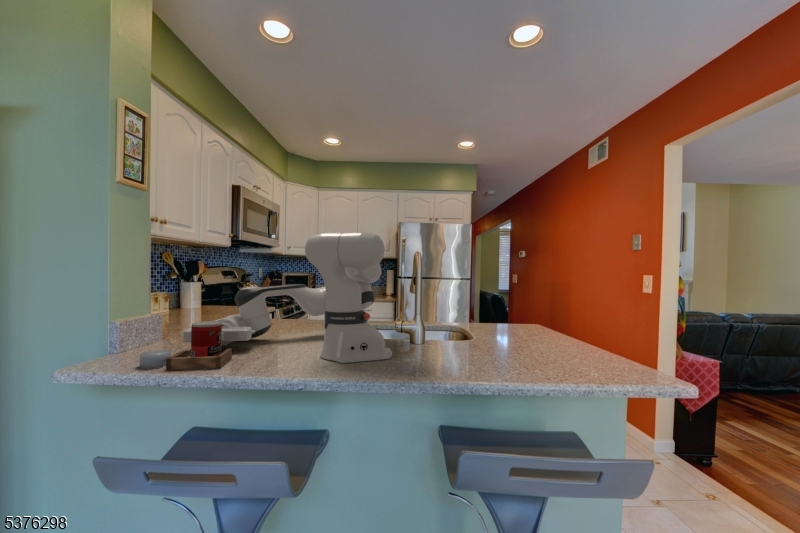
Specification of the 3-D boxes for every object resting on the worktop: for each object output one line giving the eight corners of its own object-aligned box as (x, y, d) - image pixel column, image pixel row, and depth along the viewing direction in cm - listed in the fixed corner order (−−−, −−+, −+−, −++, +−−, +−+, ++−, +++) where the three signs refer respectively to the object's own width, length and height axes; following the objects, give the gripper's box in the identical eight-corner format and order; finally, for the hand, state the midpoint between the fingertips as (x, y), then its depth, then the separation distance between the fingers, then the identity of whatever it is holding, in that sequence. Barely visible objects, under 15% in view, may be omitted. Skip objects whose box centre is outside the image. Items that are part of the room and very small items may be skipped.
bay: (231, 358, 104) (231, 348, 104) (220, 368, 94) (220, 357, 94) (183, 360, 102) (183, 350, 102) (166, 370, 92) (166, 358, 92)
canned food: (212, 363, 98) (213, 325, 98) (184, 363, 98) (185, 324, 98) (226, 356, 106) (226, 321, 106) (200, 356, 106) (200, 320, 106)
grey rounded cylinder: (174, 361, 100) (175, 349, 100) (162, 368, 93) (162, 355, 93) (148, 362, 99) (148, 350, 99) (133, 369, 92) (134, 356, 92)
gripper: (256, 339, 121) (246, 348, 108) (193, 340, 118) (174, 350, 104) (256, 321, 121) (246, 328, 108) (193, 322, 118) (174, 329, 104)
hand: (210, 339), depth 106 cm, fingers closed, pressing on canned food
